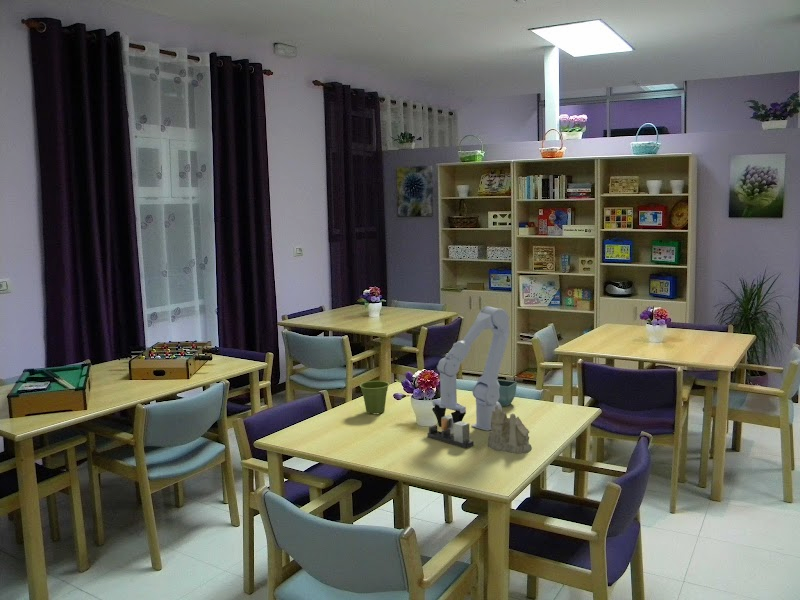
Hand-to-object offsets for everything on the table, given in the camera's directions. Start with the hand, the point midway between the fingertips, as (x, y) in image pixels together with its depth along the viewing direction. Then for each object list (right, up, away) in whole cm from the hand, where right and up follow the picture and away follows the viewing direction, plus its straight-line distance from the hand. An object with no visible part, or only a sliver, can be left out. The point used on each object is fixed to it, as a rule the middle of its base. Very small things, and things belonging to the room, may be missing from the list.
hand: (449, 428), depth 257 cm
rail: (0, -3, -9) cm, 9 cm away
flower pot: (+24, +3, +35) cm, 43 cm away
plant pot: (-28, +1, +29) cm, 40 cm away
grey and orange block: (0, -2, 0) cm, 2 cm away
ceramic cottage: (+20, -3, -14) cm, 25 cm away
